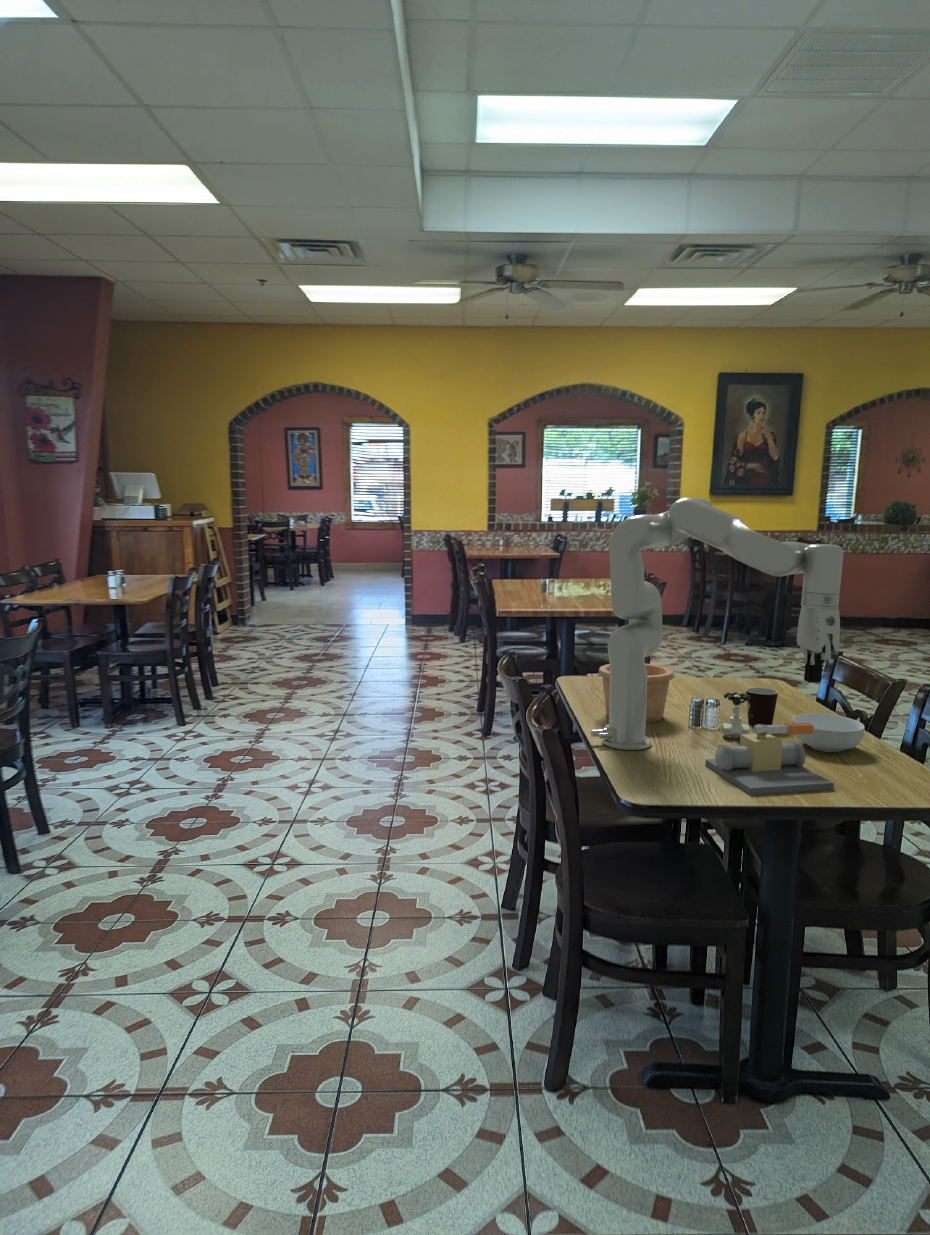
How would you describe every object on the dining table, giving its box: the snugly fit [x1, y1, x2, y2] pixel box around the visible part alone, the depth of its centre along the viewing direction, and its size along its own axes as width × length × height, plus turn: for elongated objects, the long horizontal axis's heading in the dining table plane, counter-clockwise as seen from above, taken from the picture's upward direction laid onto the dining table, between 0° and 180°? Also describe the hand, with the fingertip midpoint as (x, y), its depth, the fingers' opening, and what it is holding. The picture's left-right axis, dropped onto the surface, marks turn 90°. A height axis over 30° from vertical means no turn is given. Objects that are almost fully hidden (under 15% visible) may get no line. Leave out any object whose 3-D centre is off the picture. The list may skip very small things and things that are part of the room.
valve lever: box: [753, 722, 814, 735], centre depth 179 cm, size 14×3×2 cm, turn 95°
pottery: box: [598, 663, 675, 724], centre depth 229 cm, size 22×22×14 cm
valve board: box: [704, 733, 835, 796], centre depth 176 cm, size 20×20×9 cm
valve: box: [721, 691, 750, 739], centre depth 207 cm, size 7×7×12 cm
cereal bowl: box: [791, 712, 866, 753], centre depth 199 cm, size 17×17×7 cm
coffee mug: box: [745, 687, 779, 728], centre depth 221 cm, size 12×9×10 cm
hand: (812, 681), depth 172 cm, fingers closed
